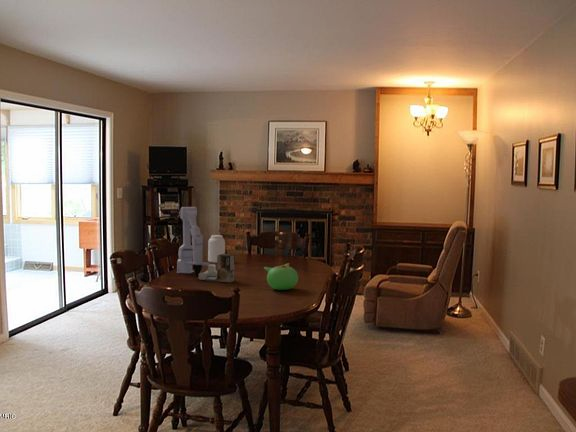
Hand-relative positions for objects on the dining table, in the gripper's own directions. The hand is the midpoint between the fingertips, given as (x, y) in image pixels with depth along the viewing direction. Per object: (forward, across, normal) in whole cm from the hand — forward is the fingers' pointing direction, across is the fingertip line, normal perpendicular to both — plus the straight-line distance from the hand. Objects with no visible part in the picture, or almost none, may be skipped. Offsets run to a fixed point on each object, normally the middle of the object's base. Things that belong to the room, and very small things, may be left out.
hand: (197, 277), depth 315 cm
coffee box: (+1, +19, -3) cm, 19 cm away
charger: (0, +5, +13) cm, 14 cm away
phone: (+2, +9, 0) cm, 9 cm away
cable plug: (+1, +3, 0) cm, 3 cm away
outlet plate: (+1, +7, +14) cm, 16 cm away
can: (+1, -6, +67) cm, 67 cm away
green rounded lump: (+1, +56, -19) cm, 59 cm away
